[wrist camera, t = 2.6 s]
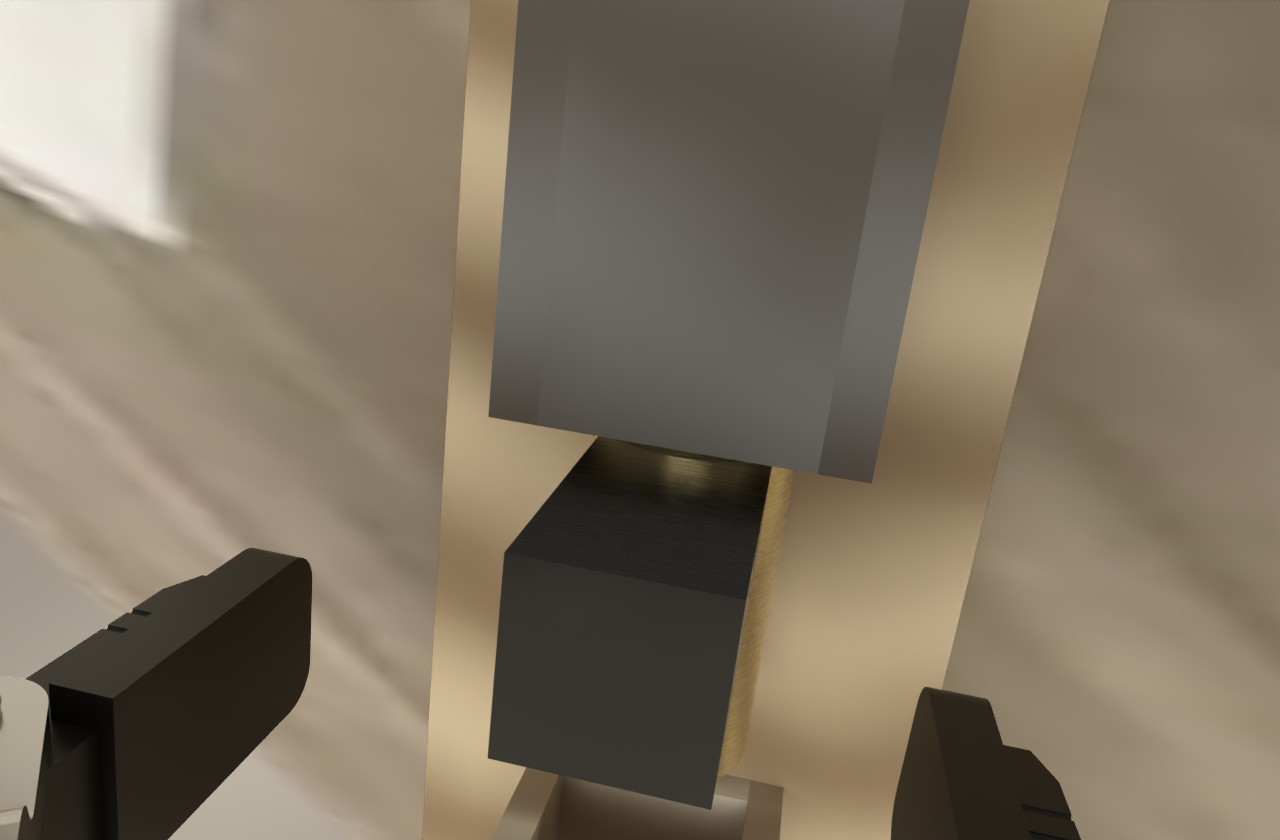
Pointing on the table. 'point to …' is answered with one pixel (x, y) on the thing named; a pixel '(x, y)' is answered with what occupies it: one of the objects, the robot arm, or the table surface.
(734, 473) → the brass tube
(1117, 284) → the table surface
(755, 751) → the tube stand
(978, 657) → the table surface
